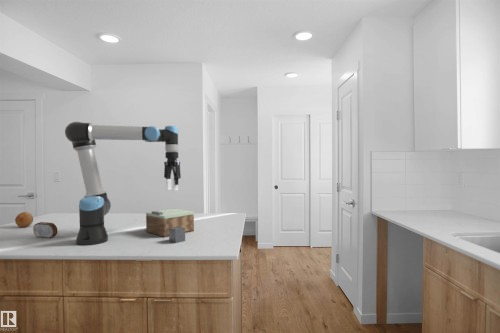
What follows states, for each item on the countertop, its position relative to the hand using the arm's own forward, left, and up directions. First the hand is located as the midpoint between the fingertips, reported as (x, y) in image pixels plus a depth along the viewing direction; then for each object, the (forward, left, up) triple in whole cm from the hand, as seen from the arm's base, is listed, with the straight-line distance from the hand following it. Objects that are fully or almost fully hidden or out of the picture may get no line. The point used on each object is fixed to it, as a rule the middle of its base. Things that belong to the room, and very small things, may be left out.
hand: (172, 189), depth 187 cm
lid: (-2, 0, -15) cm, 15 cm away
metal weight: (-12, -22, -25) cm, 35 cm away
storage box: (-2, 0, -25) cm, 25 cm away
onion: (-57, +87, -25) cm, 107 cm away
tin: (-56, +43, -25) cm, 75 cm away
